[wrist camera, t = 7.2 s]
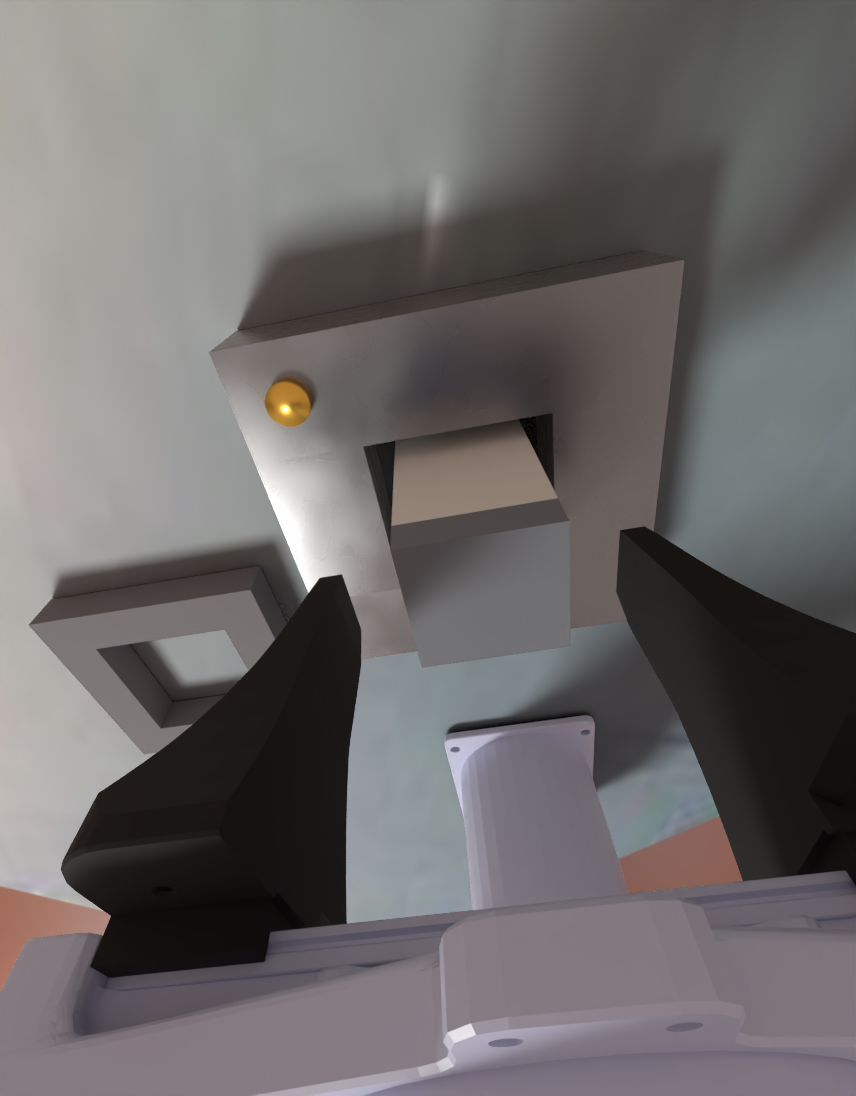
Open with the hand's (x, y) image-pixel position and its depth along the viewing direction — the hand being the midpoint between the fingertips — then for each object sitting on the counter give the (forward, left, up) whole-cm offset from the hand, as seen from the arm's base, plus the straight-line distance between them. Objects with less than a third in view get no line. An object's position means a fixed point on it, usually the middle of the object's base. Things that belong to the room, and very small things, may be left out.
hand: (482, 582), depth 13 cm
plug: (0, 0, -6) cm, 6 cm away
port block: (0, 0, -6) cm, 6 cm away
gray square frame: (-7, +13, -6) cm, 16 cm away
